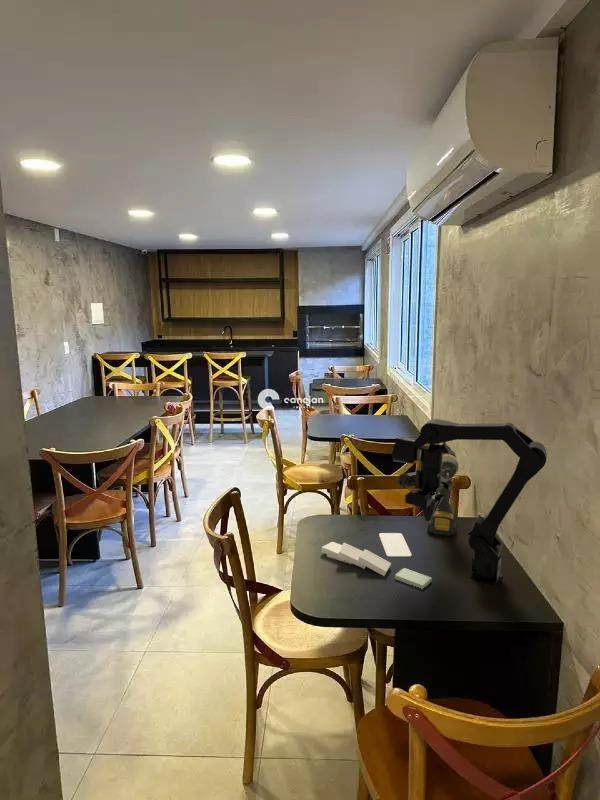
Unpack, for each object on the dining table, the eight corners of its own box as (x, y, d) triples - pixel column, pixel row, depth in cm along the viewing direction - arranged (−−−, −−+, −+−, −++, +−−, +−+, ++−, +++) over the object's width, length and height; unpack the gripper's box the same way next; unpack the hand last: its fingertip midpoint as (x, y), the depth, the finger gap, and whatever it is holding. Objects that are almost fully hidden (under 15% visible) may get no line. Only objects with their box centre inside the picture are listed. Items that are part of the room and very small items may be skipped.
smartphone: (387, 556, 152) (378, 533, 167) (386, 558, 152) (378, 535, 167) (412, 556, 152) (401, 533, 167) (412, 558, 152) (401, 535, 167)
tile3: (370, 554, 149) (343, 542, 150) (366, 564, 144) (339, 551, 146) (368, 558, 149) (341, 546, 151) (364, 569, 145) (337, 556, 146)
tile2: (391, 563, 145) (365, 548, 148) (386, 571, 141) (359, 556, 143) (389, 568, 146) (363, 553, 148) (384, 576, 141) (357, 561, 144)
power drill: (459, 546, 159) (464, 466, 155) (428, 543, 161) (432, 463, 156) (453, 520, 179) (458, 448, 174) (426, 517, 180) (430, 446, 176)
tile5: (360, 555, 152) (335, 547, 156) (351, 562, 147) (326, 554, 152) (359, 560, 152) (335, 553, 156) (351, 567, 148) (326, 559, 152)
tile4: (354, 549, 151) (332, 541, 156) (344, 555, 148) (321, 547, 153) (354, 555, 152) (332, 546, 157) (344, 561, 148) (321, 552, 153)
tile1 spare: (431, 577, 139) (404, 567, 144) (422, 585, 135) (394, 574, 140) (431, 583, 139) (404, 573, 144) (422, 591, 135) (394, 580, 140)
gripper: (418, 453, 156) (415, 504, 159) (388, 468, 141) (385, 524, 144) (455, 460, 149) (451, 513, 152) (427, 477, 135) (424, 535, 137)
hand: (428, 520), depth 146 cm, fingers closed
